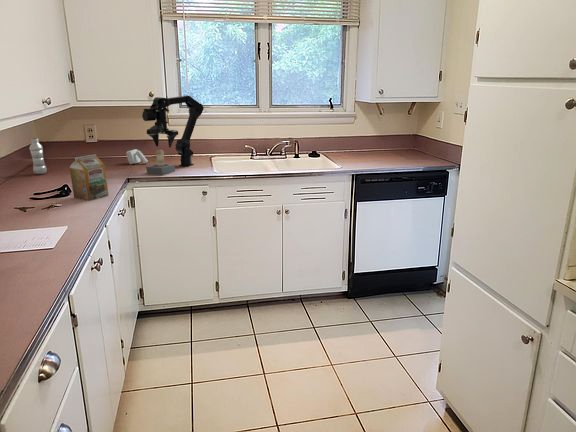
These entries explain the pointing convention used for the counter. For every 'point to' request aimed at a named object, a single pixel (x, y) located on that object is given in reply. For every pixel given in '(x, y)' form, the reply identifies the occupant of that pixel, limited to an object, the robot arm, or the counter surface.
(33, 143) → the plastic bottle
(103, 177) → the milk carton
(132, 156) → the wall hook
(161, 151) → the birch peg
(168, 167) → the frame
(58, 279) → the counter surface
